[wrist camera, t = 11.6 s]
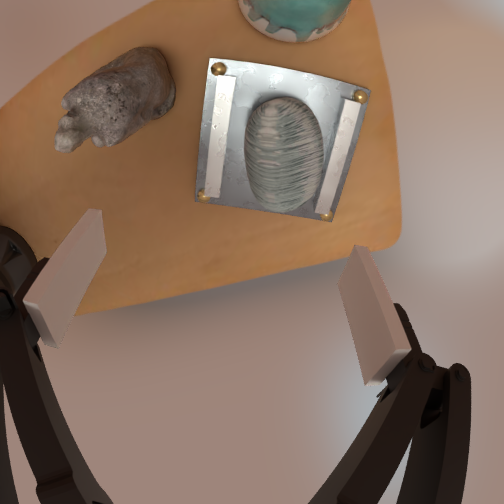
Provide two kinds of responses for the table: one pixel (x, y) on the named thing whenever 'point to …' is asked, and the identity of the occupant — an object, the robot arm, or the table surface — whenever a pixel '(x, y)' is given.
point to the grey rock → (283, 154)
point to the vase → (294, 17)
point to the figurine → (116, 100)
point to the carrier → (239, 112)
